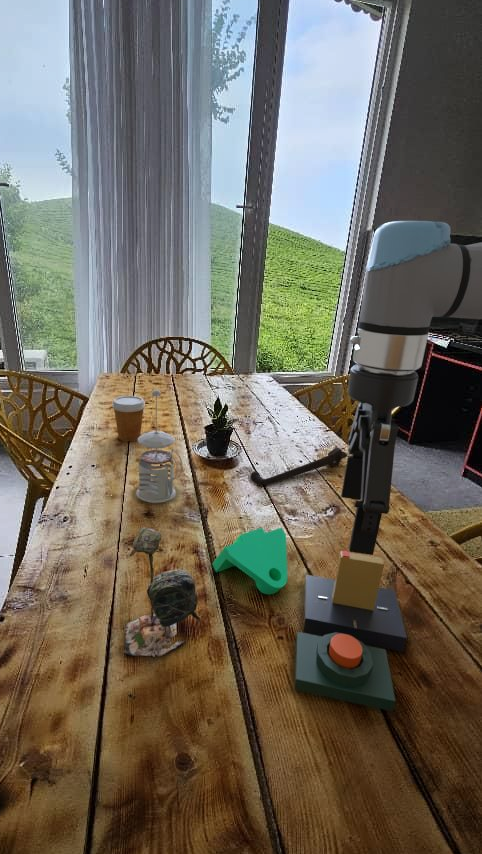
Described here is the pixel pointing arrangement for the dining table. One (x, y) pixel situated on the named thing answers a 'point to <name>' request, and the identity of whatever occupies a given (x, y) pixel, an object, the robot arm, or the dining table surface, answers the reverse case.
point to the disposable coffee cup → (128, 416)
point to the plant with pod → (160, 603)
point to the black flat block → (353, 616)
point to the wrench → (303, 467)
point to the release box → (343, 673)
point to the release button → (345, 651)
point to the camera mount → (258, 558)
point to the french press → (162, 486)
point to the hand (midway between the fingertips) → (355, 521)
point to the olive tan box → (357, 580)
